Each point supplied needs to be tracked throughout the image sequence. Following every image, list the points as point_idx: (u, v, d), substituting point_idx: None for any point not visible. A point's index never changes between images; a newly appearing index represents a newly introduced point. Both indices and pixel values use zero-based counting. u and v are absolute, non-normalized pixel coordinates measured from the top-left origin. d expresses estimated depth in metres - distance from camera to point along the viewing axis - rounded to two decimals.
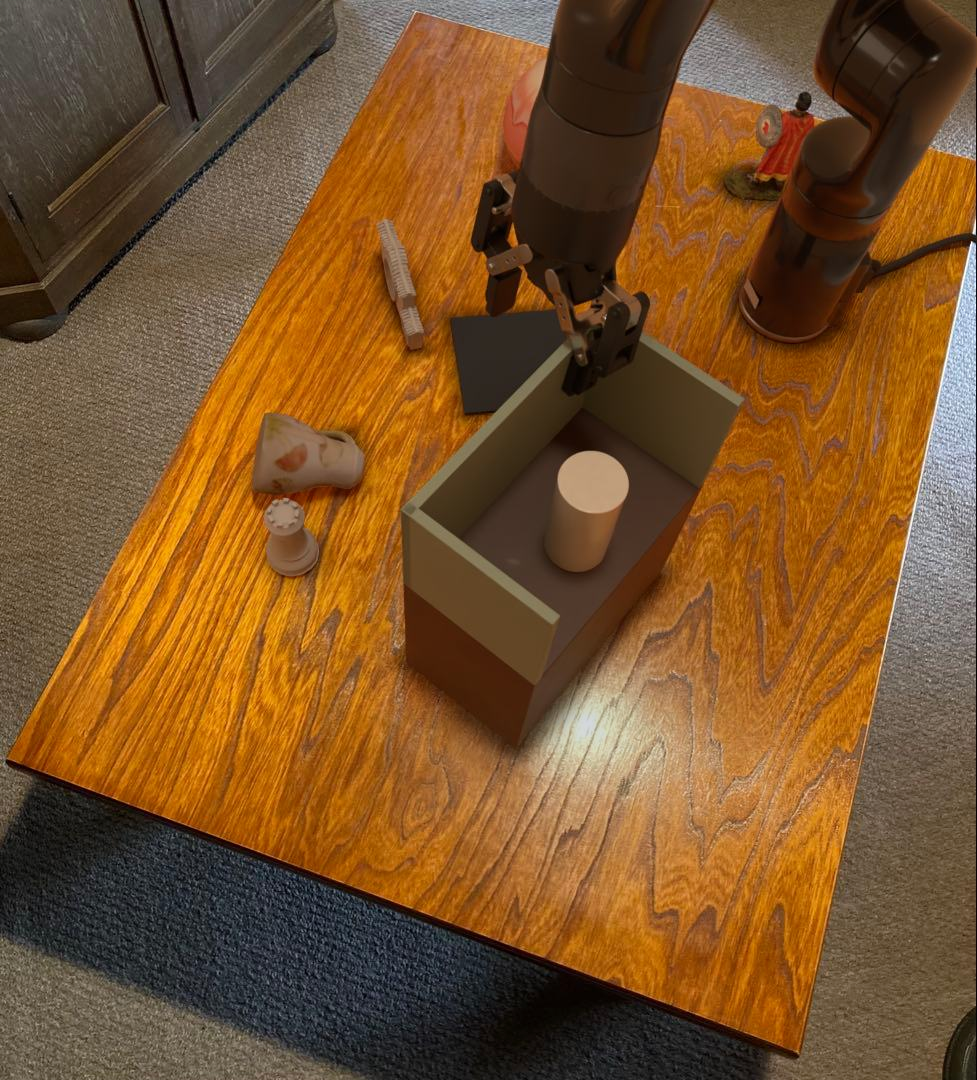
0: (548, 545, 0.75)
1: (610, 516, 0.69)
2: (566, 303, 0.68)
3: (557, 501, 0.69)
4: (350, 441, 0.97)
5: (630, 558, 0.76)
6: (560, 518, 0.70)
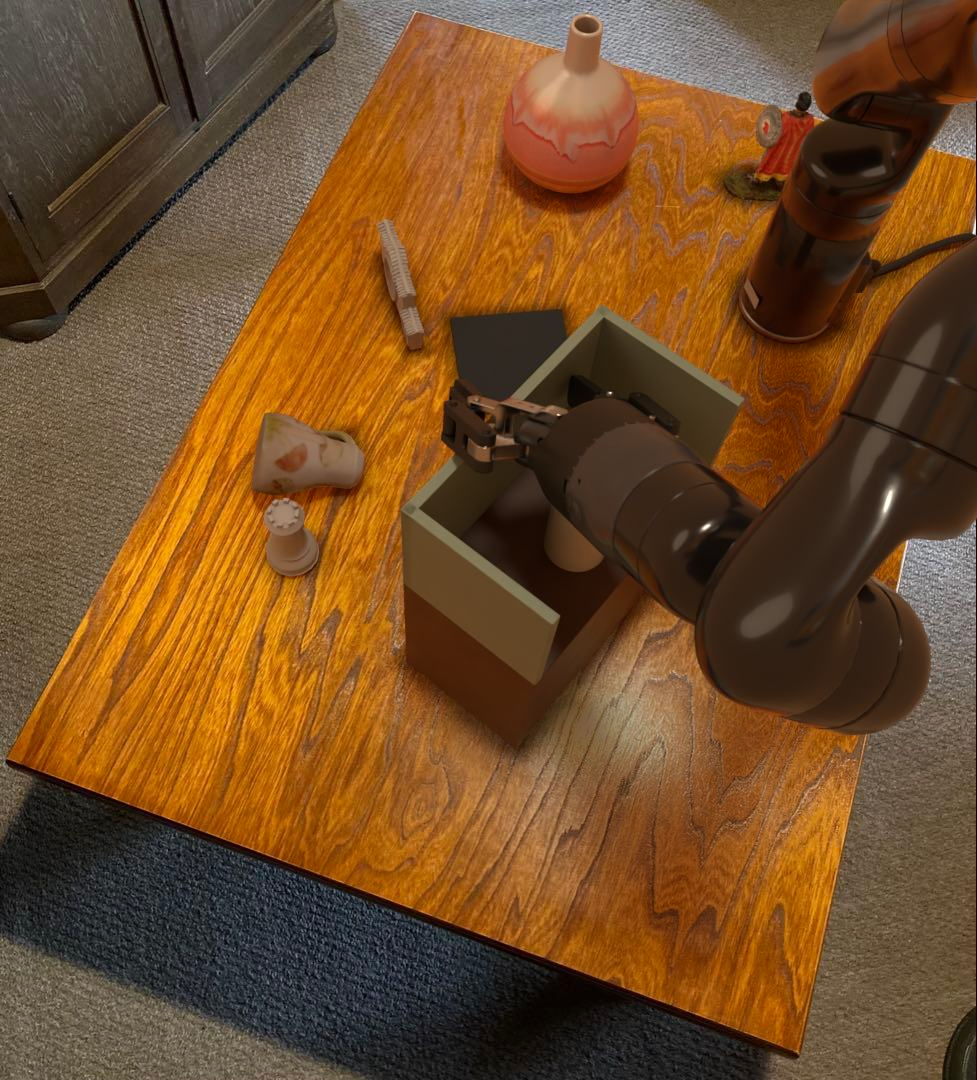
0: (548, 545, 0.75)
1: None
2: None
3: None
4: (350, 441, 0.97)
5: None
6: (560, 518, 0.70)
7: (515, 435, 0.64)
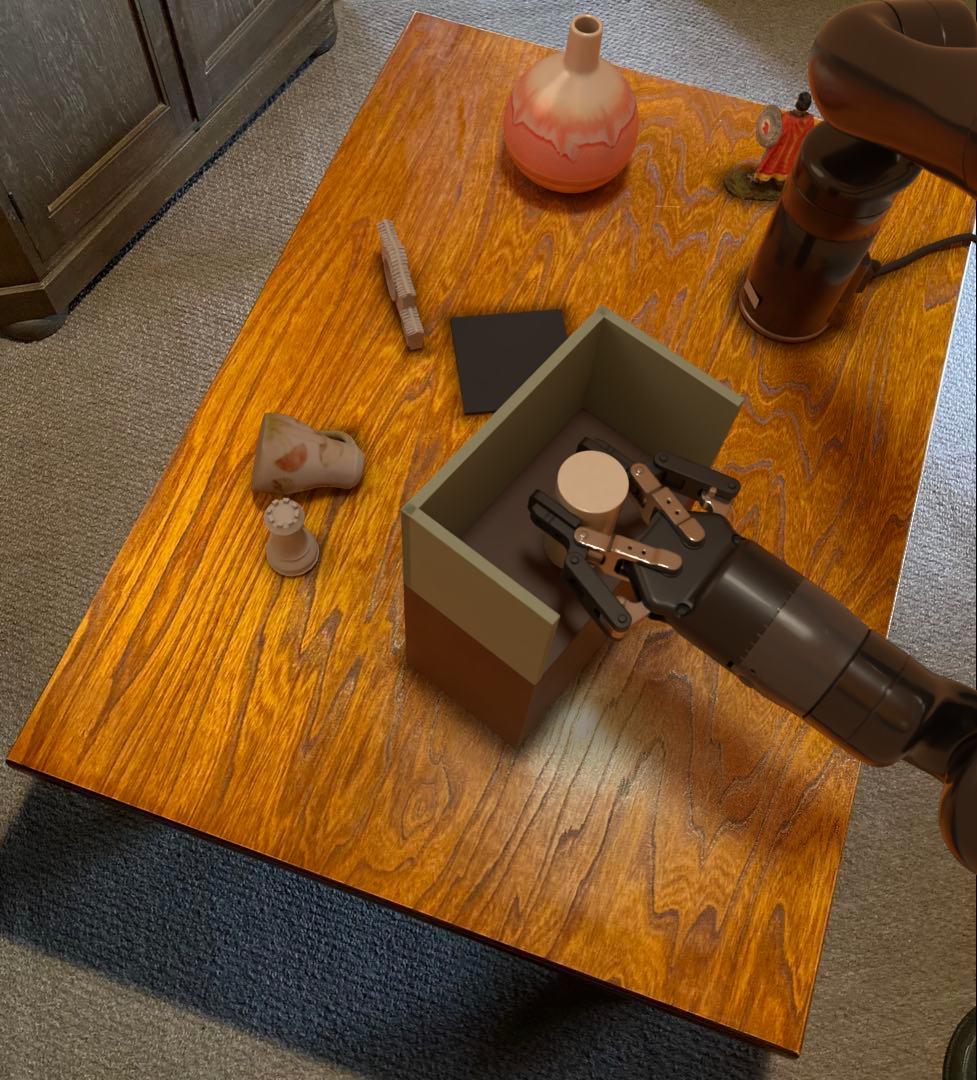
0: (548, 545, 0.75)
1: (610, 516, 0.69)
2: None
3: (557, 501, 0.69)
4: (350, 441, 0.97)
5: None
6: None
7: (647, 606, 0.66)
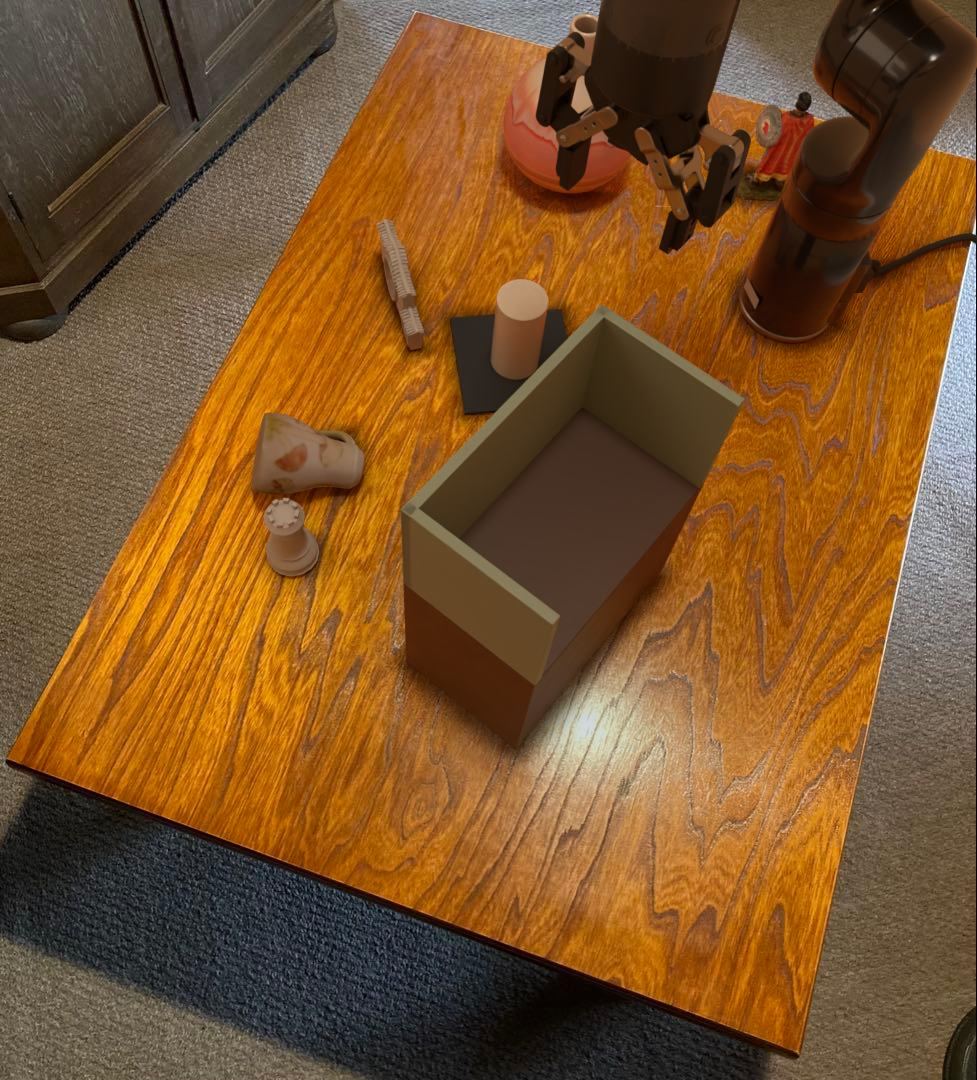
0: (493, 358, 1.01)
1: (535, 325, 0.94)
2: (662, 159, 0.66)
3: (497, 315, 0.95)
4: (350, 441, 0.97)
5: (630, 558, 0.76)
6: (499, 329, 0.96)
7: None
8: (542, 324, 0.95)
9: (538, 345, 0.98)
